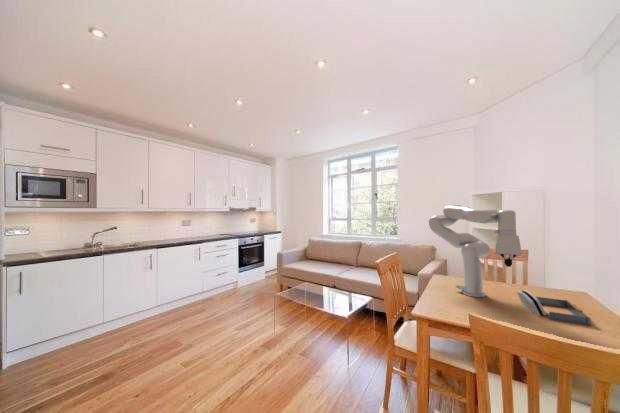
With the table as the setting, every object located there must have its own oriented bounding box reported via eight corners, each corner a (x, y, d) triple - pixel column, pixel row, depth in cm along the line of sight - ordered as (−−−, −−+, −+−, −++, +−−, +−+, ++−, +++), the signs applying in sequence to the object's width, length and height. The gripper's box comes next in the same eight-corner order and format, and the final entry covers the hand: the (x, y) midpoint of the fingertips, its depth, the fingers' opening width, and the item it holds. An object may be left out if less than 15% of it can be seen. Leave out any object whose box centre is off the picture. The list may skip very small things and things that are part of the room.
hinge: (550, 317, 113) (541, 297, 114) (539, 319, 115) (529, 299, 116) (532, 303, 128) (524, 286, 130) (522, 305, 130) (514, 288, 131)
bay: (550, 319, 110) (550, 311, 110) (534, 302, 130) (534, 295, 130) (591, 326, 104) (591, 317, 104) (567, 306, 123) (567, 299, 123)
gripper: (491, 233, 127) (492, 266, 127) (527, 233, 120) (528, 269, 120) (488, 231, 134) (490, 263, 134) (523, 232, 126) (524, 266, 126)
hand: (508, 266), depth 127 cm, fingers closed
